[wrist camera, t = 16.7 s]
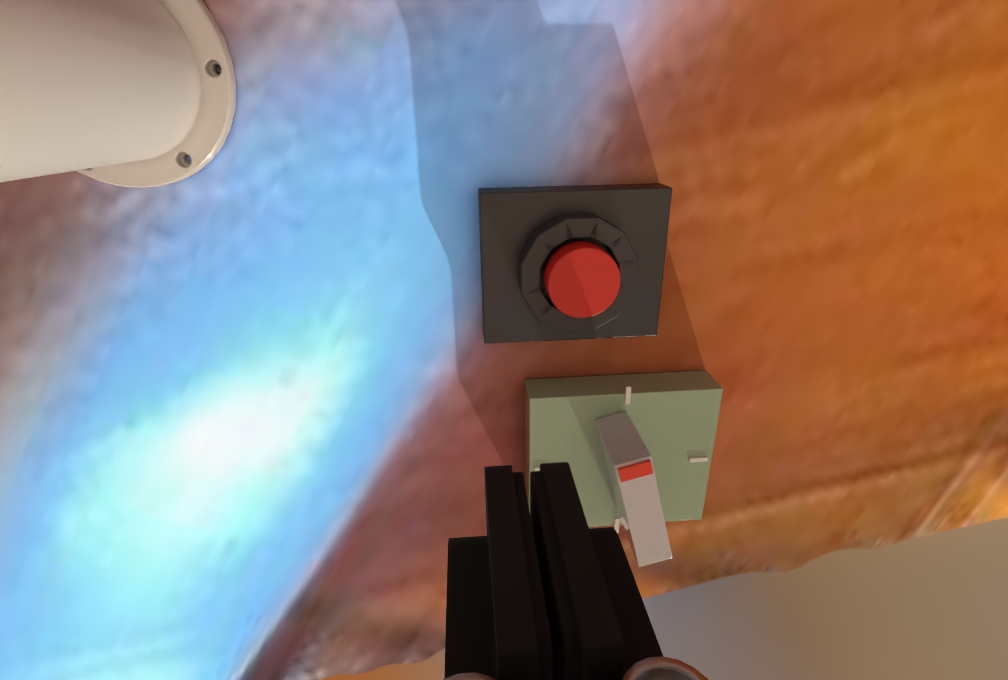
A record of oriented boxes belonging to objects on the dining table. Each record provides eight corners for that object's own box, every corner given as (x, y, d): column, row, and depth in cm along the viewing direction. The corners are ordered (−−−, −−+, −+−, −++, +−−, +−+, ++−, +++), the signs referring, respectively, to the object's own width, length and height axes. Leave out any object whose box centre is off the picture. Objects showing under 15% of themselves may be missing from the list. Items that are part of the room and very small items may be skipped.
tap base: (706, 362, 41) (725, 382, 38) (686, 500, 46) (701, 526, 43) (524, 371, 40) (529, 392, 37) (524, 511, 45) (529, 538, 42)
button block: (483, 331, 38) (485, 355, 35) (478, 188, 34) (480, 197, 31) (646, 324, 39) (666, 346, 35) (660, 183, 35) (683, 191, 31)
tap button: (543, 310, 34) (547, 319, 33) (544, 241, 32) (548, 248, 31) (610, 307, 34) (618, 316, 33) (615, 239, 33) (623, 246, 31)
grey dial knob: (647, 504, 42) (674, 561, 37) (617, 512, 42) (640, 570, 37) (626, 410, 38) (652, 458, 33) (594, 419, 38) (615, 468, 33)
